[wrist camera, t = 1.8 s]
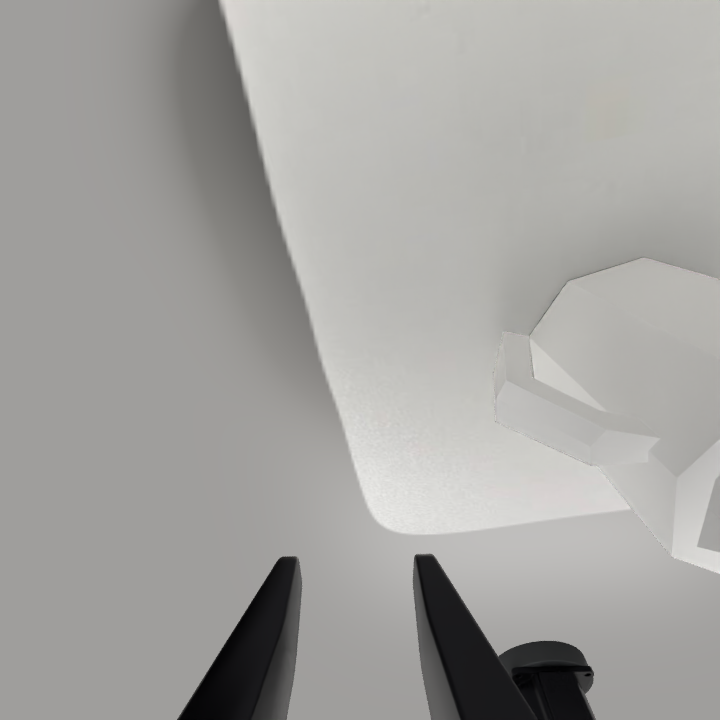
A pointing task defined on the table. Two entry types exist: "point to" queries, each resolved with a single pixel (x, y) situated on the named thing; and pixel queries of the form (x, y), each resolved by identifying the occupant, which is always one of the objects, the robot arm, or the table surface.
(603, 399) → the mug
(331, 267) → the table surface
